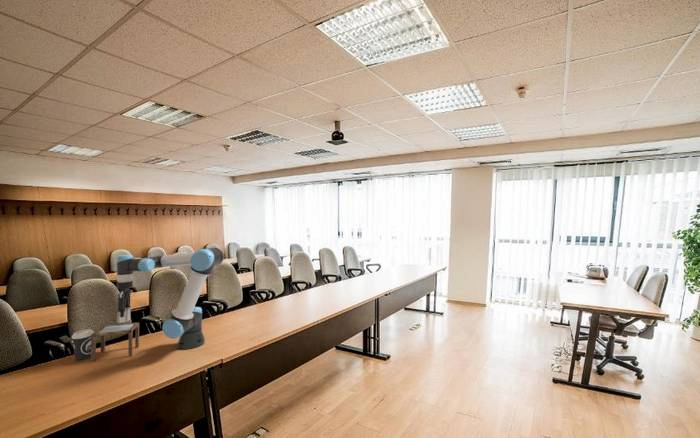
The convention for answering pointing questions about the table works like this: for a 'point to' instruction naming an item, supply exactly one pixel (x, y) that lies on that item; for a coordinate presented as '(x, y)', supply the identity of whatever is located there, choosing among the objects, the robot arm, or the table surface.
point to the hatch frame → (96, 333)
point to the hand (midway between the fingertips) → (124, 320)
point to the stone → (126, 315)
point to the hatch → (116, 328)
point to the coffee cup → (82, 344)
